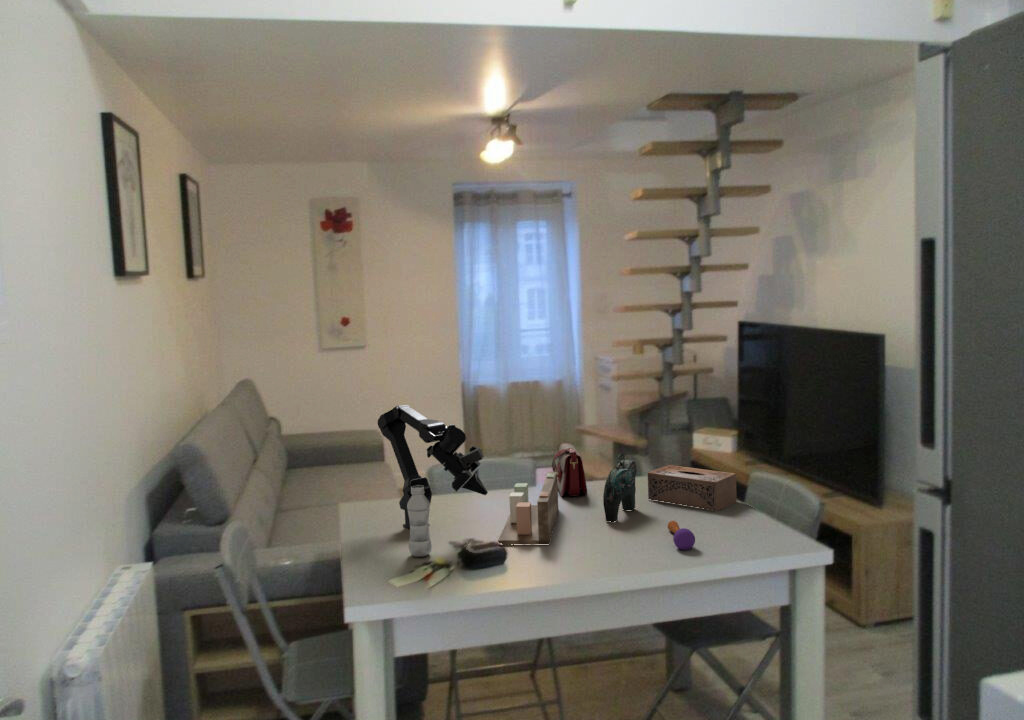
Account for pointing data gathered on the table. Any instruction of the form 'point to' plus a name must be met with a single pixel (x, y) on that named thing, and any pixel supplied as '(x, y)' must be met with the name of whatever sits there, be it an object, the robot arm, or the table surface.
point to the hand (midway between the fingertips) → (486, 493)
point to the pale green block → (522, 489)
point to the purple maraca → (681, 536)
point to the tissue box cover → (692, 487)
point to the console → (537, 517)
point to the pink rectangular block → (524, 518)
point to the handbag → (569, 470)
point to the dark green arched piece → (620, 489)
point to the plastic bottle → (419, 522)
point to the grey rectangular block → (515, 504)
